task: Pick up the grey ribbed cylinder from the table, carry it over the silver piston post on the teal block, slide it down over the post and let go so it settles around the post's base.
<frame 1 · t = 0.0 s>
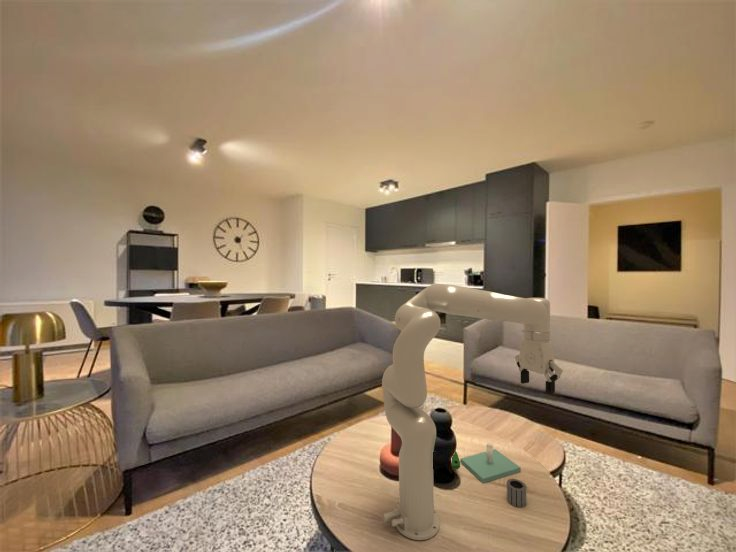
hand: (537, 387, 103), 31 cm above the table, tool pointing down, fingers open, 9 cm apart
grey ribbed cylinder: (516, 500, 96), on the table
clamp: (442, 472, 110), on the table
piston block: (489, 467, 112), on the table
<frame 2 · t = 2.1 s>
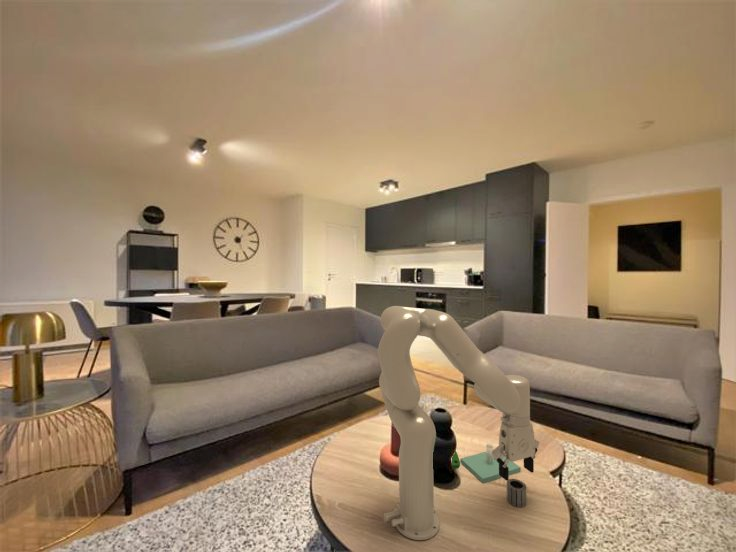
hand: (516, 473, 96), 8 cm above the table, tool pointing down, fingers open, 9 cm apart
nothing on the table moved.
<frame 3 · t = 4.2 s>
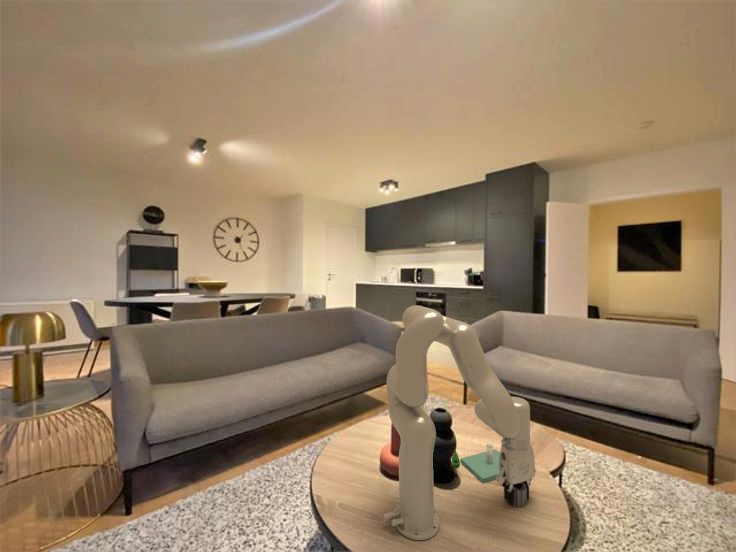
hand: (516, 498, 96), 1 cm above the table, tool pointing down, fingers closed on grey ribbed cylinder, 5 cm apart
grey ribbed cylinder: (516, 500, 96), on the table, touching gripper
everything else where it was.
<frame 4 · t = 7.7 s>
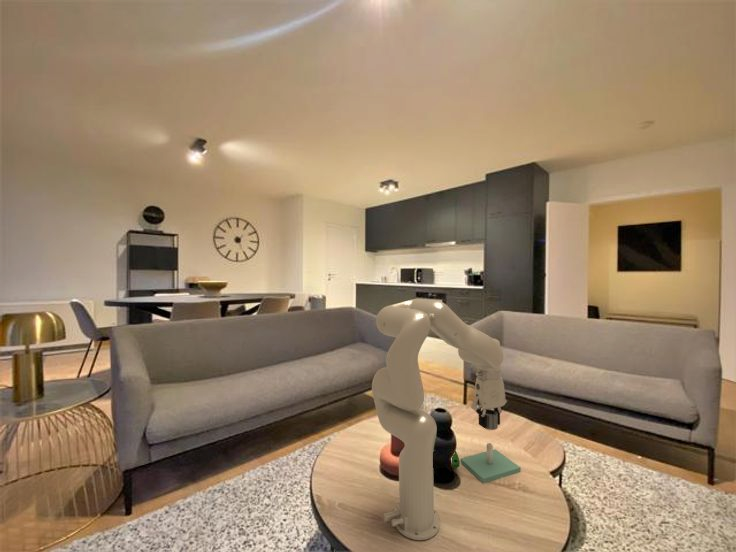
hand: (489, 424, 112), 15 cm above the table, tool pointing down, fingers closed on grey ribbed cylinder, 5 cm apart
grey ribbed cylinder: (489, 426, 112), point 15 cm above the table, touching gripper
everything else where it was.
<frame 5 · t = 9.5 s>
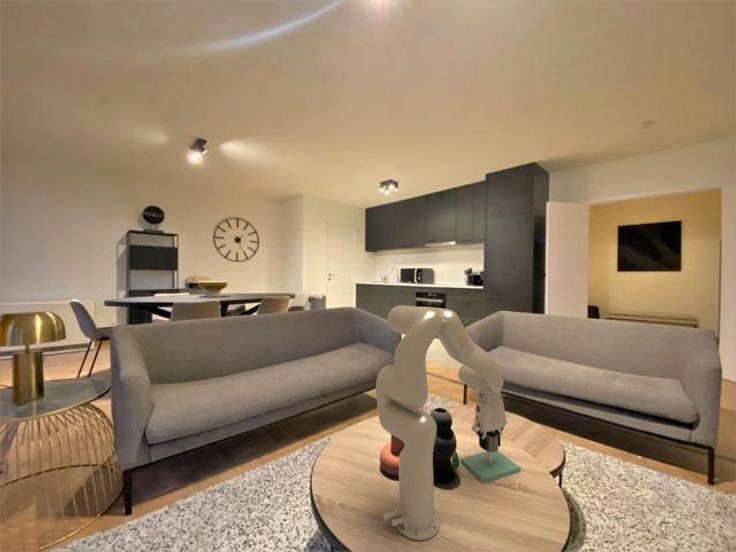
hand: (489, 445, 112), 8 cm above the table, tool pointing down, fingers closed on grey ribbed cylinder, 5 cm apart
grey ribbed cylinder: (489, 447, 112), point 7 cm above the table, touching gripper
everything else where it was.
when the fingers open (6 cm above the table, at t = 11.1 s): grey ribbed cylinder drops 4 cm, resting on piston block.
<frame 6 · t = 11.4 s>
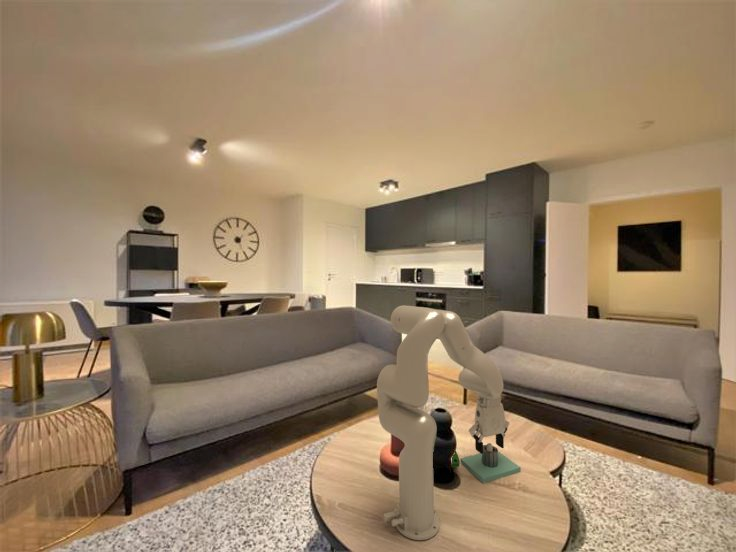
hand: (489, 448, 112), 7 cm above the table, tool pointing down, fingers open, 8 cm apart
grey ribbed cylinder: (489, 462, 112), point 1 cm above the table, touching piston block
everything else where it was.
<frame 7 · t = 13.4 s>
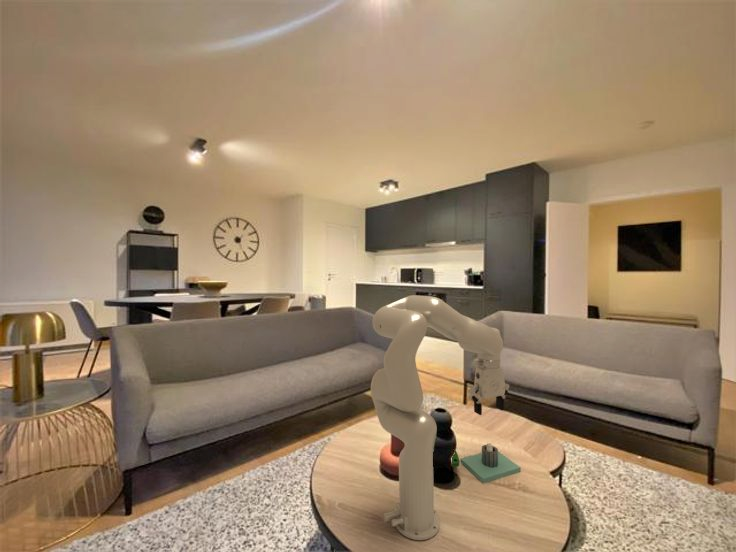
hand: (489, 411, 112), 20 cm above the table, tool pointing down, fingers open, 9 cm apart
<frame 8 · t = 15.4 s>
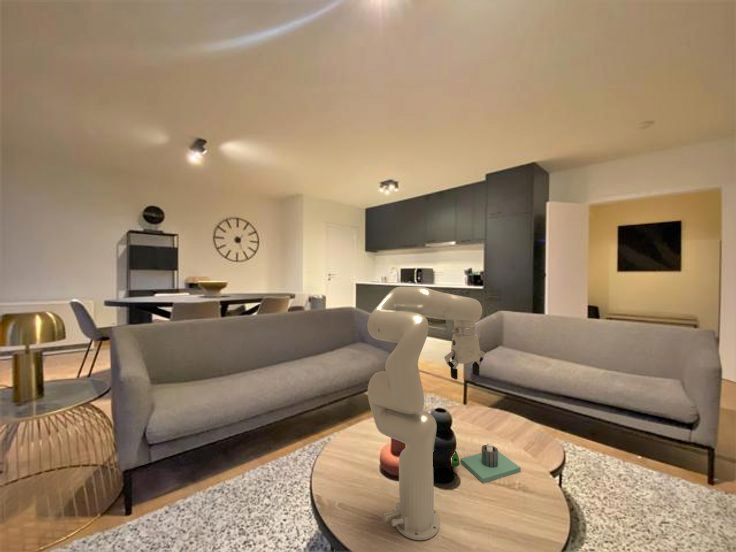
hand: (465, 376, 118), 30 cm above the table, tool pointing down, fingers open, 9 cm apart
at the end: grey ribbed cylinder 0.0 cm off-centre on the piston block, point 1.5 cm above the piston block's base; grey ribbed cylinder tilted 0°; the gripper is holding nothing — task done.
